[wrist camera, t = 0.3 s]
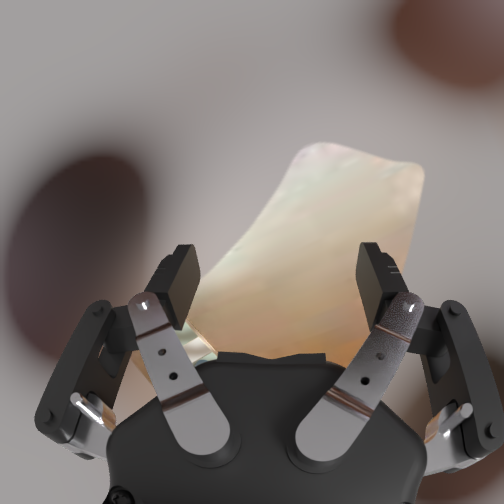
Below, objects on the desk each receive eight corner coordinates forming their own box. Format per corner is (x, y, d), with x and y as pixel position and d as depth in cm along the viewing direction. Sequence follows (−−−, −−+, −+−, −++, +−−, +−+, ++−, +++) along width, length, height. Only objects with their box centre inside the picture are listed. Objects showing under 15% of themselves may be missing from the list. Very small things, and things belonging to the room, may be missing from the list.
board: (239, 375, 52) (239, 378, 51) (211, 389, 53) (210, 392, 52) (186, 318, 50) (184, 320, 49) (159, 336, 51) (157, 338, 50)
